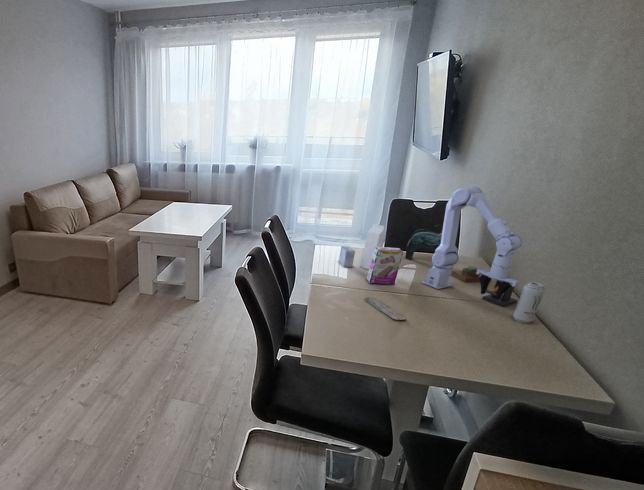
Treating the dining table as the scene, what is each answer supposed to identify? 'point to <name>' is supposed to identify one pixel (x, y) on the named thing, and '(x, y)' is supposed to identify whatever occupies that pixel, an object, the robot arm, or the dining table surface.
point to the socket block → (466, 275)
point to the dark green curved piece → (423, 242)
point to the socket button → (471, 269)
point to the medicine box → (346, 256)
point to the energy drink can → (529, 302)
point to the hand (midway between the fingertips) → (490, 296)
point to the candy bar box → (384, 265)
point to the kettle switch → (492, 291)
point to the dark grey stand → (504, 299)
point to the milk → (372, 243)
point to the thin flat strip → (384, 308)
